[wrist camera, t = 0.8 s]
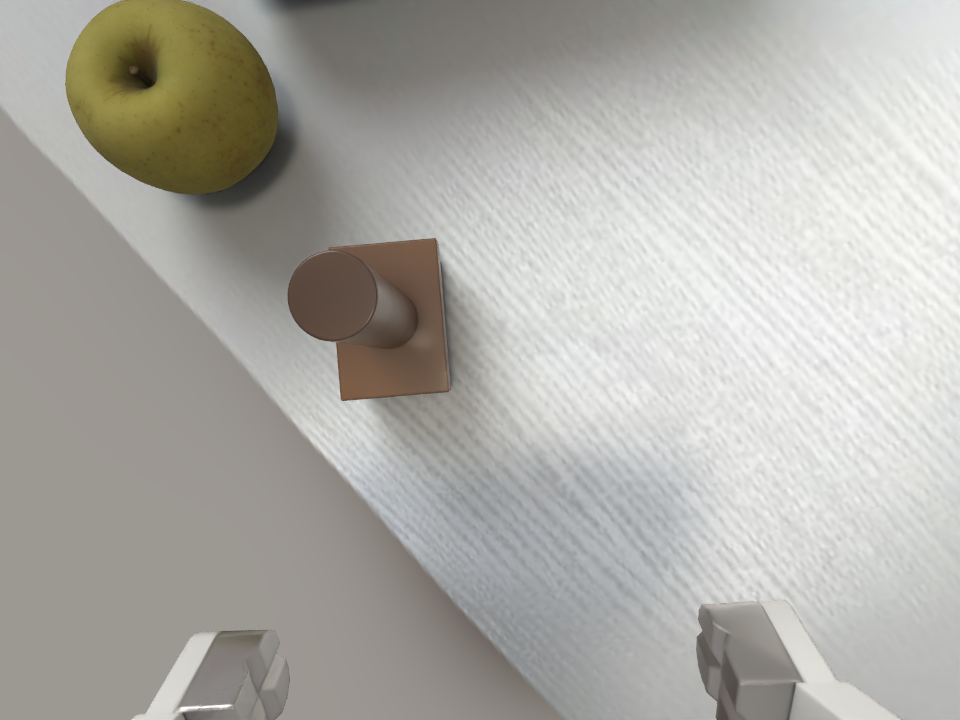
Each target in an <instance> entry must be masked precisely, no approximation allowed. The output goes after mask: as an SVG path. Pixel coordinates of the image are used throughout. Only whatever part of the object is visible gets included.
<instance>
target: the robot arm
mask: <svg viewBox="0 0 960 720" xmlns="http://www.w3.org/2000/svg"><path fill="white" fill-rule="evenodd" d="M698 620H699V623H700V625H701V628H702V630H703V631H702V632H701V633H700V634H699V635H698V636H697V645H696V652H697V659H698V666H699V670H700V674H701V678H702V681H703V683H704V686H705V689H706V692H707V693H708V694H709V695H710V696H711V697H712V698H714V699H715V700H716V701H717V711H716V719H717V720H902V719H901V718H899V717H898V716H897V715H895V714H894V713H892V712H891V711H890V710H888V709H887V708H885V707H884V706H882V705H881V704H880V703H878V702H877V701H875V700H874V699H873V698H871V697H870V696H868V695H867V694H865V693H864V692H863V691H861V690H860V689H858V688H857V687H856V686H854V685H853V684H851V683H850V682H848V681H838V680H837V678H836V676H835V675H834V673H833V671H832V670H831V668H830V667H829V665H828V663H827V662H826V660H825V659H824V657H823V655H822V654H821V652H820V651H819V649H818V647H817V646H816V644H815V643H814V641H813V639H812V638H811V636H810V635H809V633H808V631H807V630H806V628H805V627H804V625H803V623H802V622H801V620H800V619H799V617H798V615H797V614H796V612H795V611H794V609H793V607H792V606H791V604H790V603H788V602H787V601H786V600H773V601H757V602H754V601H750V602H735V603H721V604H706V605H701V607H700V609H699V616H698ZM279 644H280V641H279V638H278V636H277V633H276V631H275V630H248V631H220V632H197V633H196V634H195V635H194V636H192V637H191V638H190V639H189V640H188V642H187V644H186V645H185V647H184V649H183V650H182V652H181V654H180V656H179V657H178V659H177V661H176V662H175V664H174V666H173V667H172V669H171V671H170V673H169V674H168V676H167V678H166V679H165V682H164V683H163V685H162V686H161V688H160V690H159V692H158V693H157V695H156V697H155V698H154V700H153V702H152V703H151V705H150V707H149V708H148V710H147V712H146V714H138V715H136V716H135V717H134V718H133V719H131V720H275V719H276V718H277V717H278V716H279V715H280V714H281V713H282V711H283V709H284V706H285V703H286V700H287V696H288V688H289V682H290V677H289V667H288V664H287V661H286V659H285V658H284V657H283V656H281V655H280V654H279V653H277V649H278V647H279Z"/></svg>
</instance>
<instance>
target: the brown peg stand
mask: <svg viewBox="0 0 960 720" xmlns="http://www.w3.org/2000/svg"><path fill="white" fill-rule="evenodd" d="M288 304H289V309H290V312H291V314H292V316H293V318H294V320H295V322H296V323H297V324H298V325H299V327H300V328H301V329H302V330H304V331H305V332H306V333H308V334H309V335H311V336H313V337H315V338H317V339H320V340H324V341H331V342H336V345H337V357H338V369H339V381H340V393H341V400H342V401H347V400H359V399H371V398H383V397H395V396H407V395H419V394H431V393H443V392H449V391H450V390H451V384H450V372H449V360H448V348H447V336H446V324H445V312H444V300H443V288H442V277H441V265H440V253H439V244H438V242H437V240H436V239H435V238H432V239H421V240H409V241H398V242H387V243H376V244H364V245H353V246H342V247H331V248H329V251H323V252H319V253H317V254H314V255H312V256H310V257H309V258H307V259H306V260H305V261H303V262H302V263H301V264H300V265H299V266H298V268H297V269H296V270H295V272H294V274H293V276H292V278H291V280H290V283H289V287H288Z"/></svg>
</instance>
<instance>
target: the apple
mask: <svg viewBox="0 0 960 720" xmlns="http://www.w3.org/2000/svg"><path fill="white" fill-rule="evenodd" d="M65 85H66V94H67V98H68V102H69V105H70V108H71V111H72V113H73V116H74V118H75V120H76V122H77V124H78V126H79V127H80V129H81V131H82V132H83V134H84V136H85V137H86V139H87V140H88V141H89V143H90V144H91V145H92V146H93V147H94V148H95V149H96V150H97V152H99V153H100V154H101V155H102V156H103V157H104V158H105V159H106V160H107V161H109V162H110V163H111V164H113V165H114V166H115V167H117V168H118V169H119V170H121V171H122V172H124V173H126V174H128V175H130V176H131V177H133V178H135V179H137V180H139V181H141V182H143V183H146V184H148V185H151V186H154V187H156V188H159V189H162V190H166V191H171V192H176V193H181V194H208V193H213V192H218V191H222V190H224V189H227V188H229V187H231V186H233V185H234V184H236V183H238V182H239V181H241V180H242V179H243V178H245V177H246V176H247V175H248V174H250V173H251V172H252V171H253V170H254V169H255V168H256V167H257V166H258V165H259V164H260V163H261V162H262V161H263V160H264V158H265V157H266V155H267V154H268V153H269V151H270V149H271V148H272V145H273V143H274V141H275V138H276V133H277V128H278V106H277V101H276V95H275V89H274V86H273V83H272V80H271V77H270V75H269V72H268V70H267V68H266V66H265V64H264V62H263V60H262V58H261V57H260V55H259V54H258V52H257V51H256V49H255V48H254V47H253V45H252V44H251V43H250V42H249V40H248V39H247V38H246V37H245V36H244V35H243V34H242V33H241V32H240V31H238V30H237V29H236V28H235V27H234V26H233V25H232V24H230V23H229V22H228V21H227V20H225V19H224V18H222V17H221V16H219V15H217V14H216V13H214V12H212V11H210V10H208V9H206V8H204V7H201V6H199V5H196V4H193V3H189V2H186V1H182V0H124V1H120V2H117V3H115V4H113V5H111V6H109V7H107V8H105V9H104V10H103V11H101V12H100V13H99V14H98V15H96V16H95V17H94V18H93V19H92V20H91V21H90V22H89V23H88V25H87V26H86V27H85V28H84V30H83V31H82V32H81V34H80V35H79V37H78V39H77V40H76V42H75V44H74V46H73V49H72V51H71V54H70V57H69V60H68V64H67V69H66V83H65Z"/></svg>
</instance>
